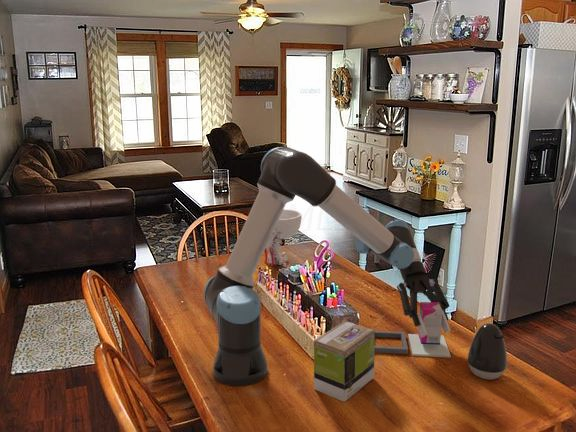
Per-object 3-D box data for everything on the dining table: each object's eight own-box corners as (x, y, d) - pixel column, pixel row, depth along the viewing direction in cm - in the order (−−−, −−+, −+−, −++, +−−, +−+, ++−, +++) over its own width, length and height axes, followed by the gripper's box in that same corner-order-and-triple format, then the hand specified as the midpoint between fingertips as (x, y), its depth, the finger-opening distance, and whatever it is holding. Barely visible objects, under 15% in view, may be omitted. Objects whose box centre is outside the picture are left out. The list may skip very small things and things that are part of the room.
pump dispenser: (481, 387, 141) (486, 335, 137) (459, 367, 151) (463, 318, 147) (514, 381, 144) (519, 330, 140) (490, 363, 154) (495, 314, 150)
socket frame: (407, 354, 159) (408, 349, 158) (369, 352, 160) (369, 347, 159) (404, 336, 170) (404, 332, 169) (368, 334, 171) (368, 330, 170)
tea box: (344, 366, 152) (345, 319, 148) (374, 378, 146) (376, 329, 142) (312, 389, 140) (313, 338, 137) (344, 403, 134) (345, 350, 131)
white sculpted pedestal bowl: (285, 254, 251) (285, 207, 245) (309, 265, 235) (310, 215, 230) (239, 264, 237) (238, 214, 231) (261, 276, 222) (260, 223, 216)
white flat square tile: (450, 357, 156) (450, 355, 156) (412, 355, 158) (412, 353, 157) (443, 337, 169) (443, 335, 169) (408, 335, 170) (408, 333, 170)
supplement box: (436, 336, 165) (439, 301, 163) (440, 345, 160) (442, 309, 157) (417, 335, 166) (420, 301, 163) (420, 344, 160) (422, 309, 157)
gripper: (432, 267, 176) (458, 333, 165) (377, 274, 170) (401, 343, 159) (443, 256, 170) (471, 324, 159) (386, 263, 163) (411, 334, 152)
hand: (436, 333), depth 159 cm, fingers closed on supplement box, 7 cm apart
